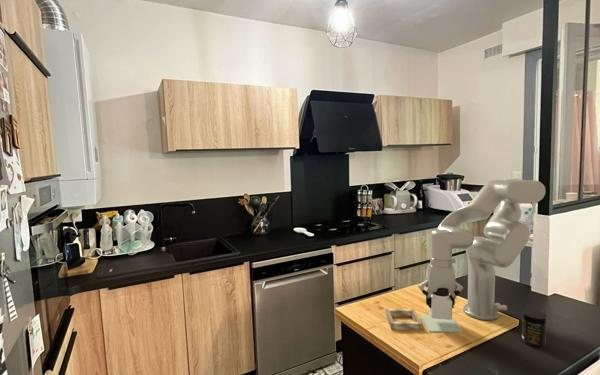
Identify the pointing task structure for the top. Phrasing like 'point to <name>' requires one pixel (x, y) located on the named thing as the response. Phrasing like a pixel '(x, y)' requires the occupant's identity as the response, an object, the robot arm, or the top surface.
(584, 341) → the top surface
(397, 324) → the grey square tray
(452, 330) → the mat
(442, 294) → the medicine bottle
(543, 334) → the supplement container
